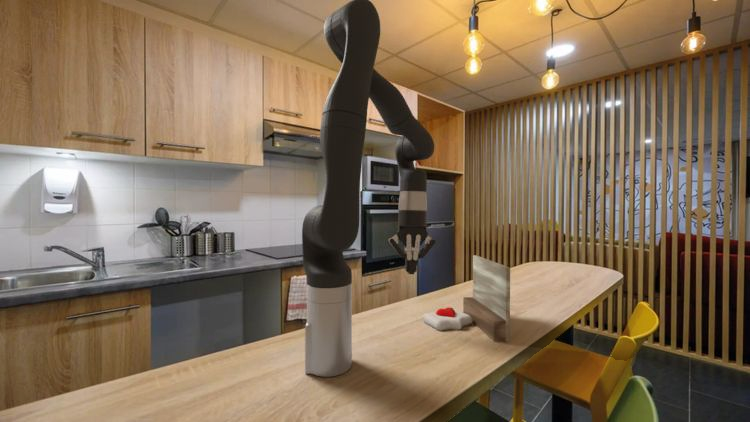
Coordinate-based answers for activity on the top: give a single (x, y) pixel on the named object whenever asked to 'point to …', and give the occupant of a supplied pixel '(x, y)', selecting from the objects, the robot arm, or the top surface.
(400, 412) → the top surface
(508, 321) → the display ledge
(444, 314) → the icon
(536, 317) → the top surface
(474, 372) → the top surface
